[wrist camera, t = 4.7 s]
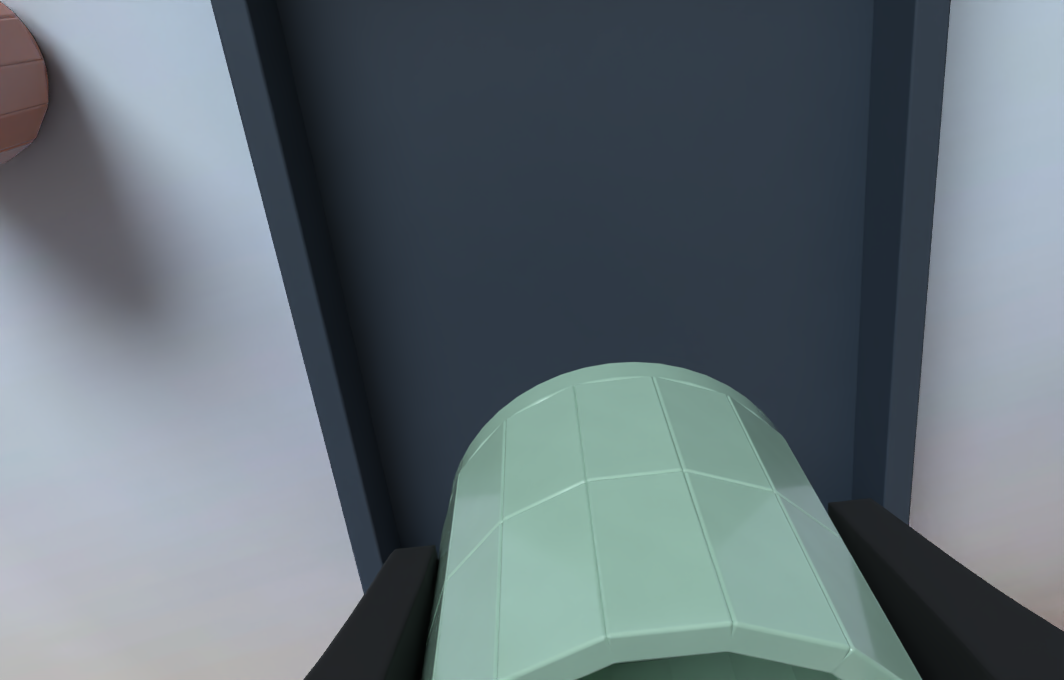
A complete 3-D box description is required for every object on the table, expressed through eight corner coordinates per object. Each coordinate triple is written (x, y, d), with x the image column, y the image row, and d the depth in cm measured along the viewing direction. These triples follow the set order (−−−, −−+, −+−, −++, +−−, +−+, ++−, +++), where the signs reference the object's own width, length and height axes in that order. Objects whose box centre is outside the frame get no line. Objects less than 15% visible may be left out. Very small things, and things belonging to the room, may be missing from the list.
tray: (863, 533, 21) (904, 598, 19) (392, 582, 21) (378, 652, 19) (906, -285, 14) (978, -334, 12) (209, -186, 14) (153, -216, 12)
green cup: (797, 632, 14) (945, 985, 9) (476, 665, 15) (452, 1026, 10) (800, 339, 12) (999, 595, 7) (420, 382, 12) (350, 662, 7)
